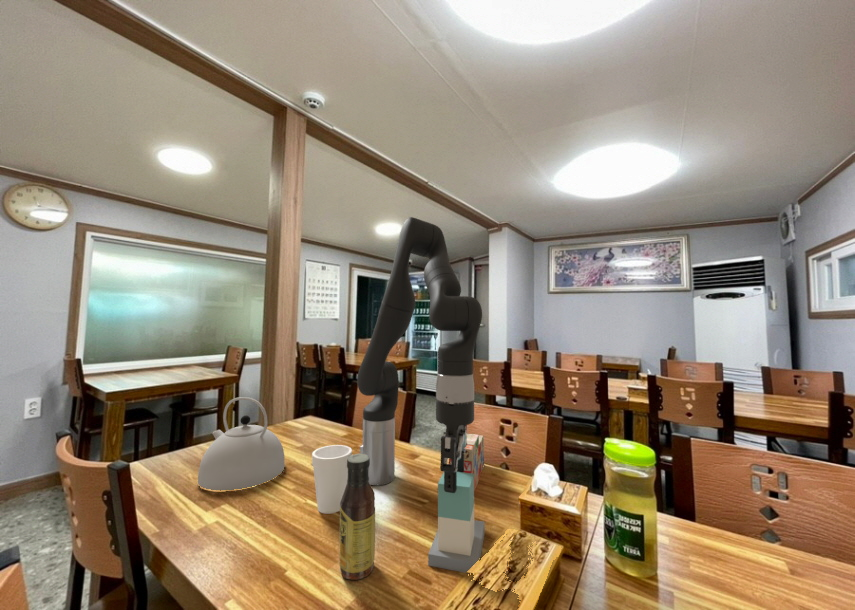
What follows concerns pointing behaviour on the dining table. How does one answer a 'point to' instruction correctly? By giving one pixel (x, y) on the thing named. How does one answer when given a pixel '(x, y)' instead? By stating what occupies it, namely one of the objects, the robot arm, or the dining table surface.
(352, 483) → the sauce bottle
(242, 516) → the dining table surface
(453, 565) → the board
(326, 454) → the foam cup
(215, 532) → the dining table surface
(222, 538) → the dining table surface
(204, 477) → the kettle
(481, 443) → the stack of blocks
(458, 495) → the teal cube
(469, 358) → the robot arm
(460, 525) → the cream cube
